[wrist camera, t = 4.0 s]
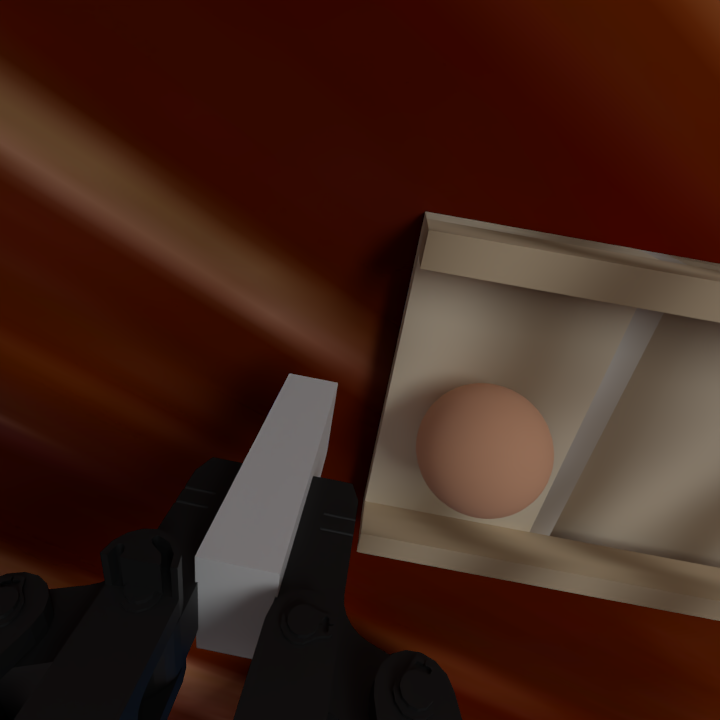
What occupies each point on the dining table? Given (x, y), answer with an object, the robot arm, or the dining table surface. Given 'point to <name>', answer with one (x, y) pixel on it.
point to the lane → (564, 413)
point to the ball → (485, 451)
